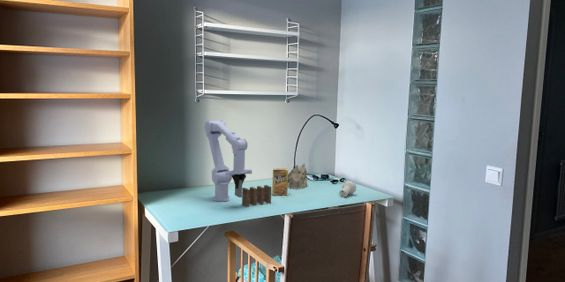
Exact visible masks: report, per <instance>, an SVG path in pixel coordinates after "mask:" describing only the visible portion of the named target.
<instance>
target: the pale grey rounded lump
mask: <svg viewBox="0 0 565 282" xmlns="http://www.w3.org/2000/svg"><path fill="white" fill-rule="evenodd" d="M356 191H357V186H356V184H355V182H353V181H351V180H347V181H345V182H344V183H342V186H341V189H340V191H339V192H338V195H339V196H340V197H341V198H346V197H347V196H348V194H349V195H353V194H354V193H355V192H356Z"/></svg>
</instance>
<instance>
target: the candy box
mask: <svg viewBox="0 0 565 282" xmlns="http://www.w3.org/2000/svg"><path fill="white" fill-rule="evenodd" d="M288 174H289V169H288V168H278V167H277V168H274V167H273V169H272V185H271V196H285V195H287V196H288V189H289V188H288Z"/></svg>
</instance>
